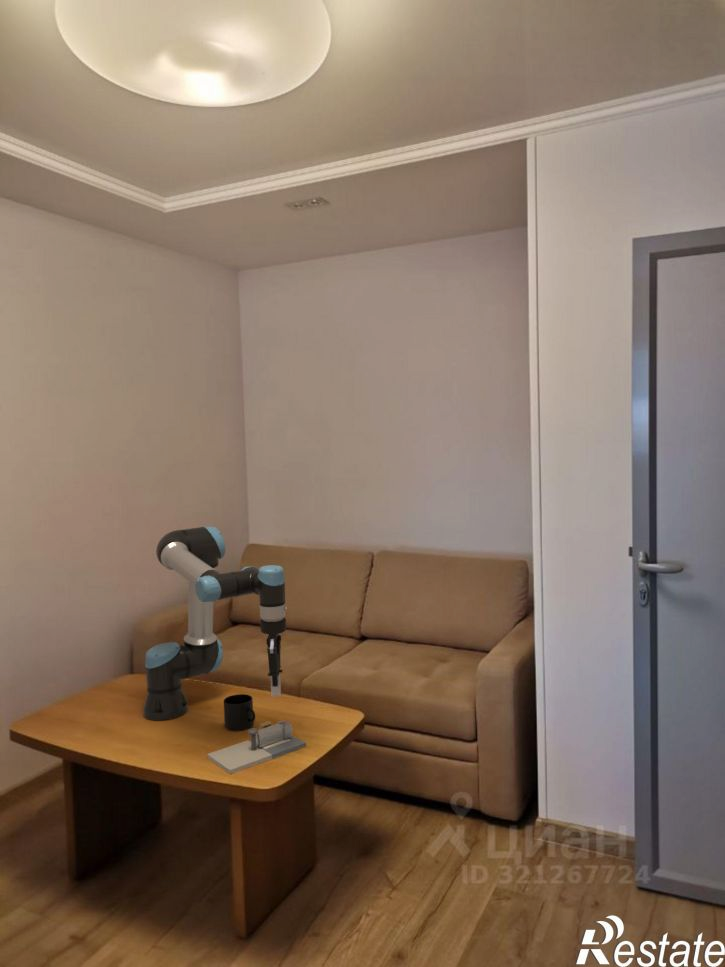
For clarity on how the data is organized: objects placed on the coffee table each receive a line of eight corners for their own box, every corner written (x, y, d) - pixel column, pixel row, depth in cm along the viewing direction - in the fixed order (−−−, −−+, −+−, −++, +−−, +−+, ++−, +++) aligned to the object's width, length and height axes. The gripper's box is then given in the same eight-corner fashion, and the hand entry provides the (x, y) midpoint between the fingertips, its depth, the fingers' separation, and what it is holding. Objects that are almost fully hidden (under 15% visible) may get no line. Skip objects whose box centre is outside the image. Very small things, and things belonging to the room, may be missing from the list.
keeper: (260, 739, 227) (259, 724, 227) (268, 736, 229) (267, 721, 229) (264, 741, 226) (263, 726, 225) (272, 739, 228) (271, 723, 227)
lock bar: (261, 748, 220) (260, 735, 220) (253, 743, 223) (252, 730, 223) (292, 736, 227) (291, 724, 227) (284, 732, 231) (283, 720, 230)
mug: (245, 735, 234) (244, 708, 233) (218, 728, 241) (217, 701, 240) (265, 725, 242) (264, 698, 241) (239, 718, 248) (237, 692, 248)
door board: (207, 757, 219) (205, 734, 218) (280, 732, 235) (279, 711, 234) (230, 774, 208) (228, 750, 207) (305, 746, 224) (304, 724, 224)
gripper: (283, 624, 210) (286, 703, 212) (288, 612, 223) (290, 687, 225) (257, 624, 210) (260, 704, 212) (263, 612, 223) (266, 687, 225)
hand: (276, 695), depth 219 cm, fingers closed
